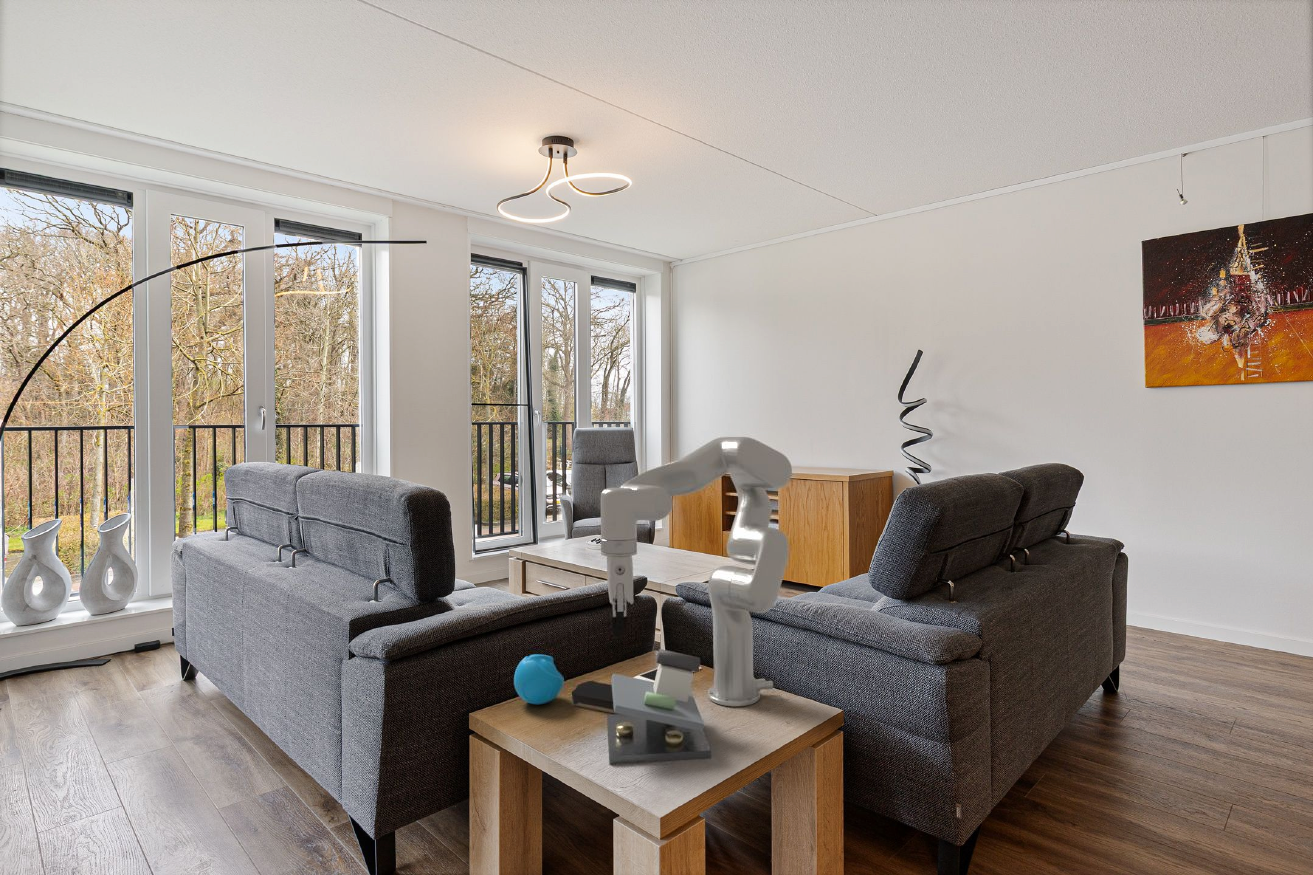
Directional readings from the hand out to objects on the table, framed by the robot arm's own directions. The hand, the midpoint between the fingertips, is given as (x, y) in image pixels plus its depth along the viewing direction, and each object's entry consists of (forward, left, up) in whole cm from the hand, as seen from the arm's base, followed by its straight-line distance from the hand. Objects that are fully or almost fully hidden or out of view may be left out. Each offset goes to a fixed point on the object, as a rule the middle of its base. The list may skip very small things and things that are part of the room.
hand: (619, 634), depth 142 cm
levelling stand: (-7, 0, -22) cm, 23 cm away
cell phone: (-14, -38, -23) cm, 47 cm away
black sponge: (+3, -20, -23) cm, 31 cm away
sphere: (+19, -23, -23) cm, 37 cm away
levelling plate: (-7, 0, -16) cm, 18 cm away
